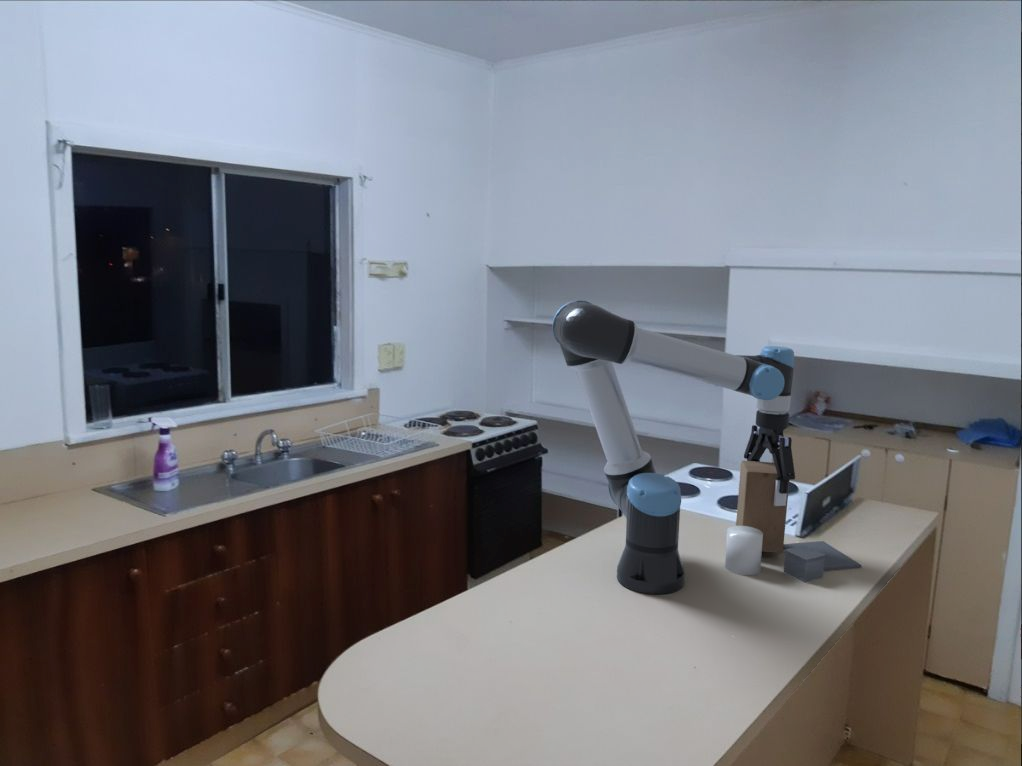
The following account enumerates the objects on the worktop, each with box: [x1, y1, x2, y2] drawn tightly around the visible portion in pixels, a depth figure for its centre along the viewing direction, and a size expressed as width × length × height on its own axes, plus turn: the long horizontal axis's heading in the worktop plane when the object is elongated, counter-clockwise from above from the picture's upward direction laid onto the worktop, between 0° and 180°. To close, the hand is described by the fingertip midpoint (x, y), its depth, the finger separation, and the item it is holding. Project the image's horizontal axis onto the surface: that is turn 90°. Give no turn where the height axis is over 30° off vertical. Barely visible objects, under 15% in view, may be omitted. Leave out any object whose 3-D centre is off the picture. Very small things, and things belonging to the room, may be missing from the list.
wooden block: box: [735, 460, 790, 554], centre depth 182 cm, size 10×10×20 cm
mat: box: [783, 540, 862, 572], centre depth 181 cm, size 12×15×1 cm
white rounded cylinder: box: [724, 525, 763, 576], centre depth 174 cm, size 8×8×9 cm
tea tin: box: [783, 545, 826, 583], centre depth 170 cm, size 6×6×6 cm
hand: (765, 497), depth 182 cm, fingers closed on wooden block, 12 cm apart
